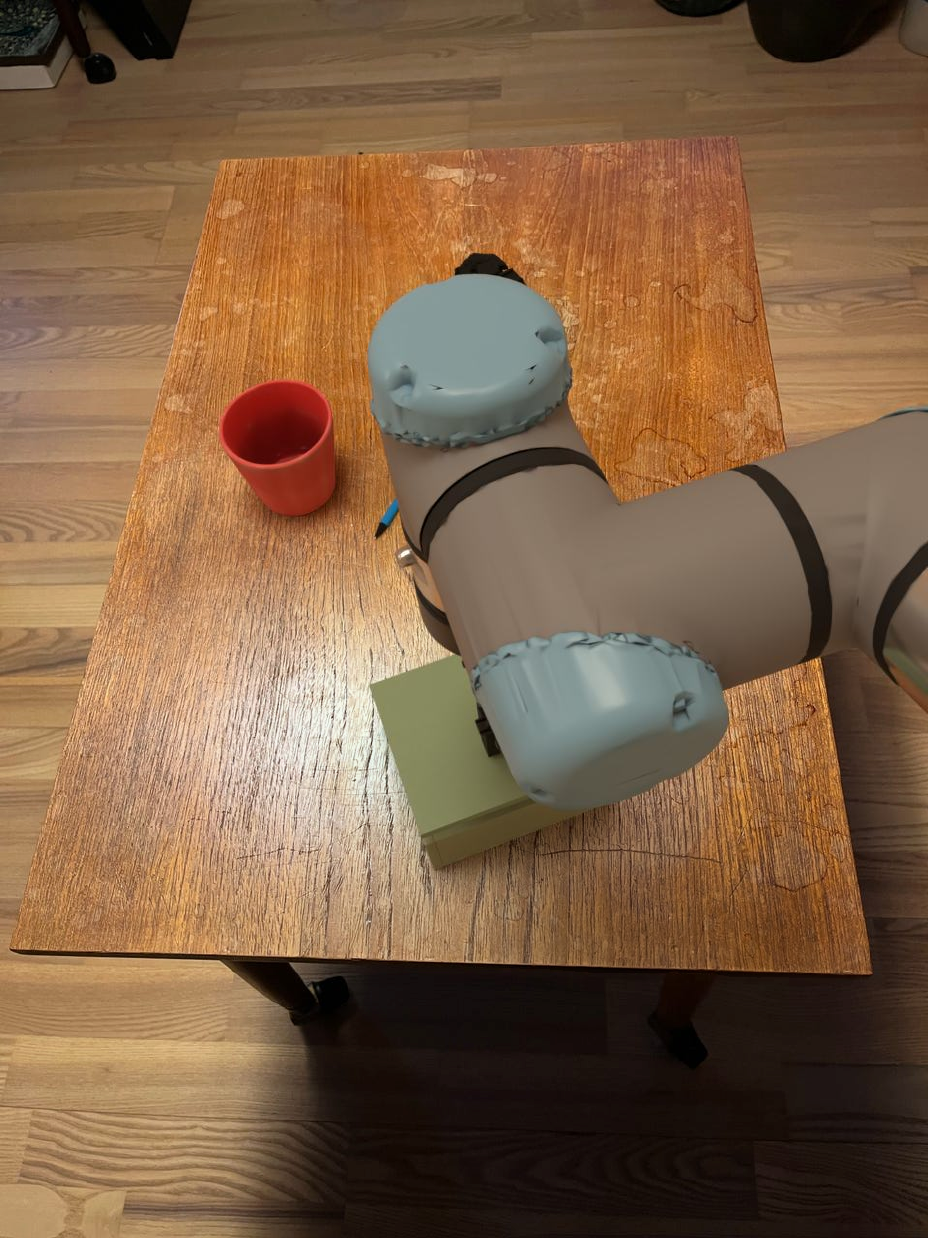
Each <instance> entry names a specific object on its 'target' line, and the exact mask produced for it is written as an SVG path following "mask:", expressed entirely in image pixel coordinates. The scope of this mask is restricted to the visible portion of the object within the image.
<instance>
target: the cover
mask: <svg viewBox="0 0 928 1238" xmlns="http://www.w3.org/2000/svg"><path fill="white" fill-rule="evenodd" d="M461 661H462V657H461V656H458V655H456V654H454V653H453V654H452V655H449V656H446V657H443V658H440V659H438V660H435V661H432V662H429V663H426V664H424V665H420V666H418V667H415V668H412V669H409V670H407V671H404V672H401V673H398V674H396V675H392V676H390V677H387V678H385V679H381V680H379V681H376V682H373V683H371V684H369V690H370V692H371V695H372V698H373V701H374V705H375V707H376V710H377V713H378V717H379V719H380V721H381V722H380V723H381V725H382V728H383V731H384V734H385V736H386V739H387V742H388V745H389V748H390V751H391V755H392V757H393V760H394V763H395V765H396V766H395V767H396V769H397V772H398V774H399V777H400V780H401V784H402V786H403V789H404V793H405V794H406V798H407V801H408V804H409V806H410V809H411V812H412V815H413V818H414V822H415V824H416V827H417V830H418V833H419V837H420V838H421V840H422V839H423V838H426V837H428V836H431V835H433V834H436V833H439V832H441V831H444V830H447V829H449V828H452V827H455V826H457V825H460V824H462V823H465V822H468V821H470V820H473V819H476V818H478V817H481V816H484V815H486V814H489V813H491V812H494V811H497V810H499V809H502V808H505V807H507V806H510V805H513V804H515V803H518V802H521V801H523V800H526V799H528V798H530V797H528V796H527V795H526V794H525V793H524V792H523V791H522V790H521V788H520V787H519V786H518V784H517V783H516V781H515V779H514V777H513V775H512V774H511V771H510V769H509V767H508V764H507V762H506V760H505V758H504V755H503V753H500V754H497V755H494V756H492V757H488V754H487V752H486V749H485V747H484V745H483V742H482V739H481V736H480V734H479V732H478V729H477V726H476V723H475V720H476V719H479V718H478V711H477V705H476V703H477V702H476V698H475V695H474V694H473V692H472V689H471V685H470V678H469V676H468V673H467V671H466V669H465V668H463V666H462V663H461Z"/></svg>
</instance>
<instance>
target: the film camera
mask: <svg viewBox="0 0 928 1238" xmlns="http://www.w3.org/2000/svg"><path fill="white" fill-rule="evenodd" d="M463 274H487V275H494V276H499V277H504V278H508V279H511V280H514V281H517V282H520V283H522V284H524V285H526V286H528V285H527V284H526V282H525V279H524V278H523V277H522V276H521V275H520V274H518V273H517V271H516V270H515V269H514V267H511V268H509V265H508V264H507V263H506V262H505V261H504V260H502V259H501V258H500V256H498V255H496V254H495V253H483V252H482V253H481V252H472V253H470V254H469V255H468V256H467V258H465V259H464V260H463V261H462V263H460V265H458V266H456V267H455V268H454V274H453V276H455V275H463Z"/></svg>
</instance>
